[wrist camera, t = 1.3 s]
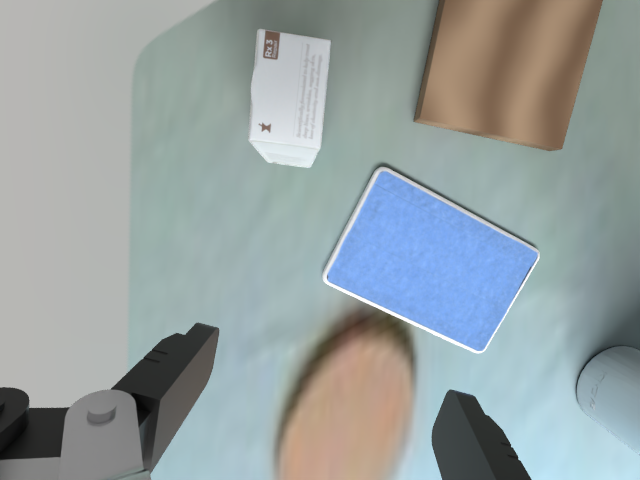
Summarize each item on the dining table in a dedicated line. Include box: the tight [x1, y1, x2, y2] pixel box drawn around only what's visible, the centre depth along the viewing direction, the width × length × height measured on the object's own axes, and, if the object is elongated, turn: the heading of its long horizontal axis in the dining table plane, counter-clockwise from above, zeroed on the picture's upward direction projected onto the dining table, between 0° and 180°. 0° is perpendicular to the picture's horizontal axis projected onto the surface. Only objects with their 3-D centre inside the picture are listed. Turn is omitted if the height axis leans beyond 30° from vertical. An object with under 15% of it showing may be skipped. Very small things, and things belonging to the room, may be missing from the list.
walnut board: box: [414, 0, 603, 151], centre depth 30 cm, size 14×14×2 cm
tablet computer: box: [322, 167, 540, 353], centre depth 33 cm, size 19×13×1 cm, turn 63°
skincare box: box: [248, 29, 331, 168], centre depth 24 cm, size 6×4×12 cm
